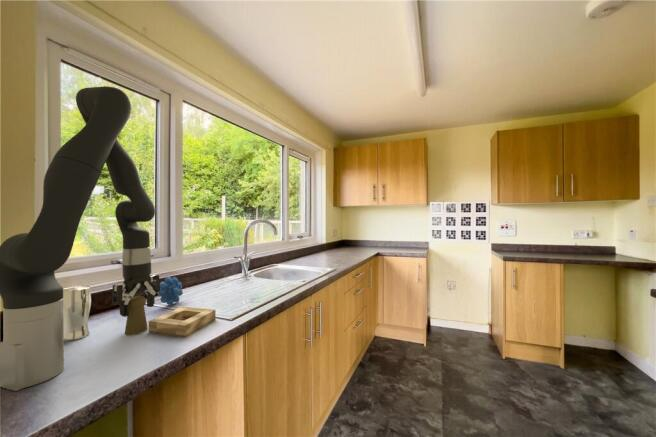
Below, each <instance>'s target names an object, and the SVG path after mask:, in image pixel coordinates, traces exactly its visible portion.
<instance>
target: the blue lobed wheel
mask: <svg viewBox="0 0 656 437" xmlns="http://www.w3.org/2000/svg"><path fill="white" fill-rule="evenodd" d="M182 288H183V284H182V282H180V281H179V278H177V277H174V276H173V277H170V276H167V277H166V278H164V281H160V291H159V292H157V295H158V297H160V302H161V303H163V304H165V303H166V304H167V305H168V306H171V305H174V303H178V302H179V301H180V297H181V296H183V293H184V292H183V290H182Z"/></svg>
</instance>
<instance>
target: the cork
mask: <svg viewBox="0 0 656 437" xmlns="http://www.w3.org/2000/svg"><path fill="white" fill-rule="evenodd" d="M128 304H129V316H126V324H125V329H124V334H125V335H127V336H131V335H132V336H133V335H139V334H142V333H144V332H146V331H147V330H149V326H148V321H147V315H146V310H145V305H147V297H145V296H144V295H143V296H142V295H137V296H136V295H134V296H133V297H132V298H131V299H130V301H129V302H128Z"/></svg>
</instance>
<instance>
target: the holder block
mask: <svg viewBox="0 0 656 437" xmlns="http://www.w3.org/2000/svg"><path fill="white" fill-rule="evenodd" d="M214 321H216V309H211V308H202V307H201V308H199V307H192V306H181V307H179V308H176V309H175V310H172V311H169V312H167V313H165V314H163V315H160V316H158V317H156V318H152V319H150V320H148V333H151V334H157V335H159V334H160V335H166V336H173V337H180V338H186V337H188V336H190V335H191V334H194V333H195V332H197V331H199V330H200V329H202V328H204V327H205V326H207V325H209V324H211V323H212V322H214Z"/></svg>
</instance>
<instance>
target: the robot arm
mask: <svg viewBox="0 0 656 437" xmlns="http://www.w3.org/2000/svg"><path fill="white" fill-rule="evenodd" d="M75 102H76V106H77V109H78V111H79V113H80V116H81V117H82V119H83V121H84V123H85V125H84V126H83V128H81V129H80V130H79V131H78V132H77V133H75V135H74V136H72V137H71V138H70V139H68V140H67V141H66V142H65V143H64V144H63V145H62V146H61V147H60V148H59V149H58V150H57V151H56V152H55V155H54V156H53V158H52V159H51V162H50V164H49V165H48V168H46V172H45V175H44V178H43V194H42V195H43V197H42V206H41V209H40V213H39V215H38V217H37V219H36V220H35V222H34V224H33V225H32V227H31V228H30V231H28V232H24V233H17V234H14V235H12V236H10V237H8V238H7V239H5V240H4V241H3V242H1V244H0V298H1V300H2V307H3V308H2V310H3V311H2V312H3V313H2V316H3V318H2V319H3V320H2V322H3V325H2V326H3V327H2V330H3V332H2V334H3V339H2V340H3V341H1V342H0V388H1V387H3V388H2V389H5V388H6V390H10V391H14V392H17V391H20V390H22V389H24V388H29V387H31V386H35V385H38V384H41V383H44V382H46V381H49V380H51V379H52V378H54V377H56V376H58V375H60V374H61V372H63V371H64V369H65V366H64V365H65V363H64V362H65V354H64V351H65V346H64V345H65V344H64V342H65V341H64V313H63V310H64V306H63V289H64V287H63V286H62V285H61V284H60V283H59V282H58V280H57V278H56V274H55V271H57V270H59V269H60V268H61V267H63V265H65V264H66V263H67V260H69V257H70V255H71V253H72V251H73V246H74V243H75V239H76V236H77V232H78V229H79V225H80V222H81V220H82V217H83V214H84V213H85V210H86V208H87V206H88V203H89V200H90V199H91V196H92V194H93V192H94V189H95V188H96V187H97V183H98V181H99V179H100V176H101V175H102V172H103V169H104V166H105V165H106V168H107V170H108V174H109V176H110V180H111V183H112V186H113V189H114V191H115V192H116V193H117V194H118V195H122V196H125V197H127V198H128V199H129V200H127V199H126V200H122V201H120V202H119V203H118V204H117V205H116V207H115V211H114V212H115V213H114V215H115V219H116V222H117V224H118V227H119V231H120V233H121V234H122V255H121V259H122V260H121V261H122V262H121V263H122V278H123V280H124V281H123V283H121V284H120V283H119V284H116V283H115V284H113V285H112V292H111V294H112V295H111V296H112V298H111V304H112V305H117V306H119V315H120V316H121V317H126V318H127V316H129V304H128V302H129V301H130V299H131V298H132V297H135V295H138V294H139V293H145V294H146V306H147V307H149V308H152V307H154V306H155V304H156V302H155V300H156V299H155V296H156V295H157V294H158V292H159V291H160V289H161V288H160V283H161V281H160V280H161V279H160V275H159V274H152V252H151V245H150V244H151V243H150V238H151V237H150V232H149V231H148V230H147V229H143V228H140V227H139V224H138V223H146V222H150V221H151V220H153V219H154V217H155V215H156V208H155V204H154V202H153V200H152V199H151V198H150V196H149V194H148V193H147V191H146V190H145V188H144V186H143V185H142V181H141V178H140V174H139V171H138V168H137V166H136V163H135V162H134V160H133V158H132V156H130V154H129V152H127V151H126V150H125V148H124V147H123V145H122V144H121V143H120V141H119V139H118V137H119V136H120V134H121V132H122V131H123V129H124V128H125V125H126V124H127V122H128V120H129V119H130V117H131V113H132V102H131V100H130V99H129V96H128V95H127V93H125V92H124V90H122V89H119V87H118V88H117V87H113V86H94V87H83V88H82V89H80V90H78V92H76V95H75ZM150 284H151V285H150Z"/></svg>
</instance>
